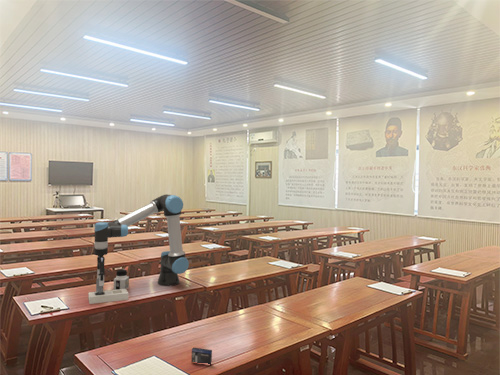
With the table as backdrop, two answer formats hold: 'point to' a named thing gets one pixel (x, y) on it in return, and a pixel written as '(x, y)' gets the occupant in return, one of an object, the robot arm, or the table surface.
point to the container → (121, 280)
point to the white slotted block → (108, 296)
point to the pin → (98, 288)
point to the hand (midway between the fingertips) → (100, 282)
